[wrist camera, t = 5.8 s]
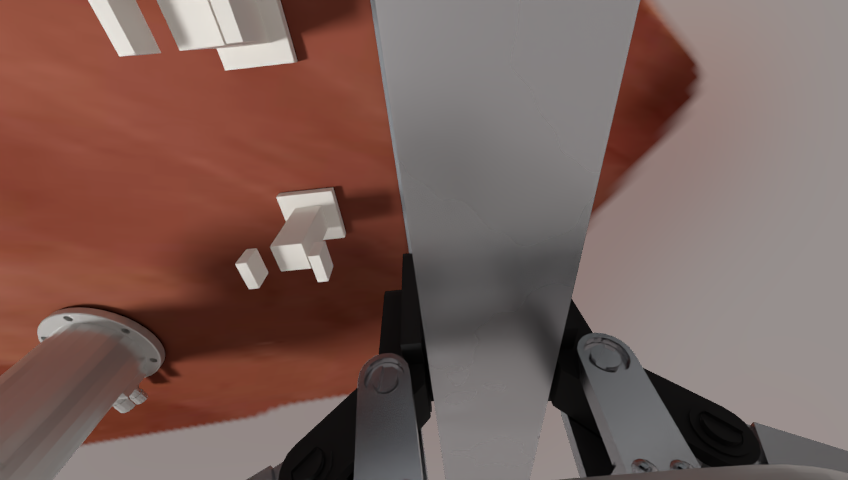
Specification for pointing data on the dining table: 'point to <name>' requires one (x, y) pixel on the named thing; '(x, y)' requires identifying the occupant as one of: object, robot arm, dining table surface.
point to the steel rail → (499, 198)
